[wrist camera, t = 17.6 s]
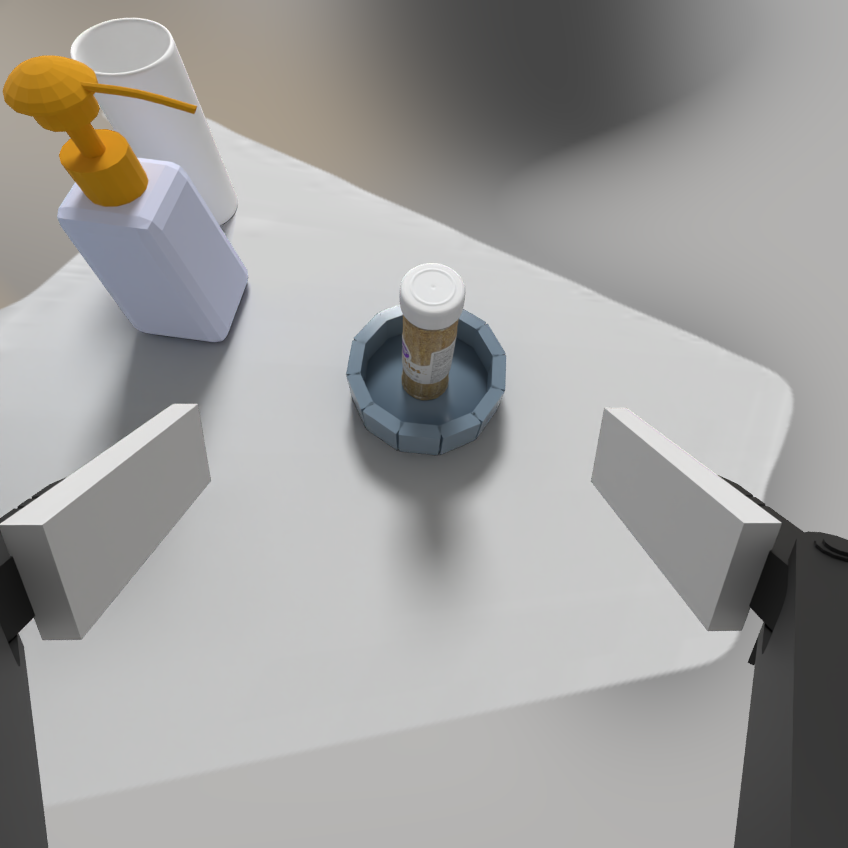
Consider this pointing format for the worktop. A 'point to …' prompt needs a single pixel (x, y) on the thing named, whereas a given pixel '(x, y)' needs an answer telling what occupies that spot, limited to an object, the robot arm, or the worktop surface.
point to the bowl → (425, 419)
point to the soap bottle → (133, 209)
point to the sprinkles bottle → (429, 327)
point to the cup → (156, 104)
